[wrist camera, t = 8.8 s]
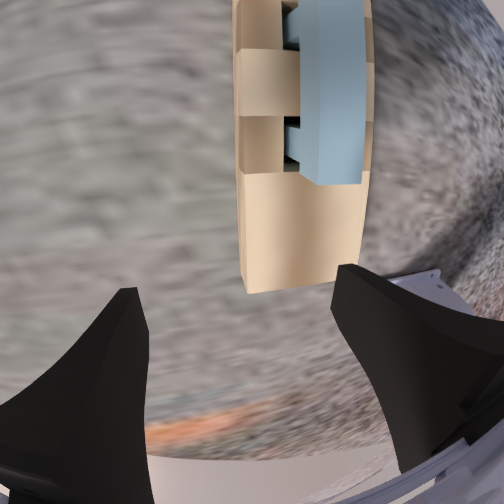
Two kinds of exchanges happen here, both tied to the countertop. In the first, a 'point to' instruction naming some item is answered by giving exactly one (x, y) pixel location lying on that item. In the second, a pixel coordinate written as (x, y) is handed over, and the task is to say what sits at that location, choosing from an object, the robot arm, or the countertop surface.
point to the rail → (287, 173)
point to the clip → (328, 90)
